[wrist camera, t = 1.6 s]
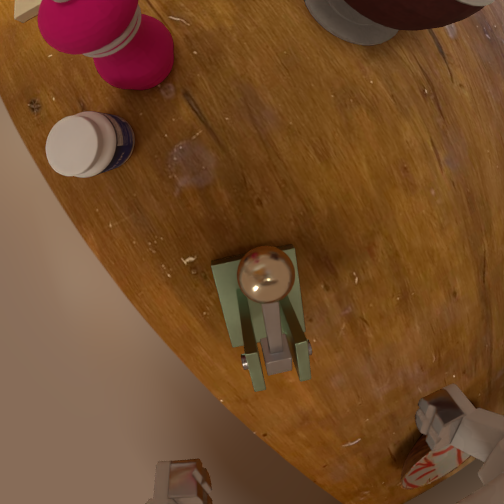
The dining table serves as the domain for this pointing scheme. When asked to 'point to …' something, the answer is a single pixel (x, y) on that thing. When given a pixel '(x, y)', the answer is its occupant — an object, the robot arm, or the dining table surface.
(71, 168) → the pill bottle
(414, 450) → the bowl
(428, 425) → the robot arm
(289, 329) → the bracket
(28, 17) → the box
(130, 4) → the pepper mill
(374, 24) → the mate gourd
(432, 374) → the dining table surface
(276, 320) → the lever
